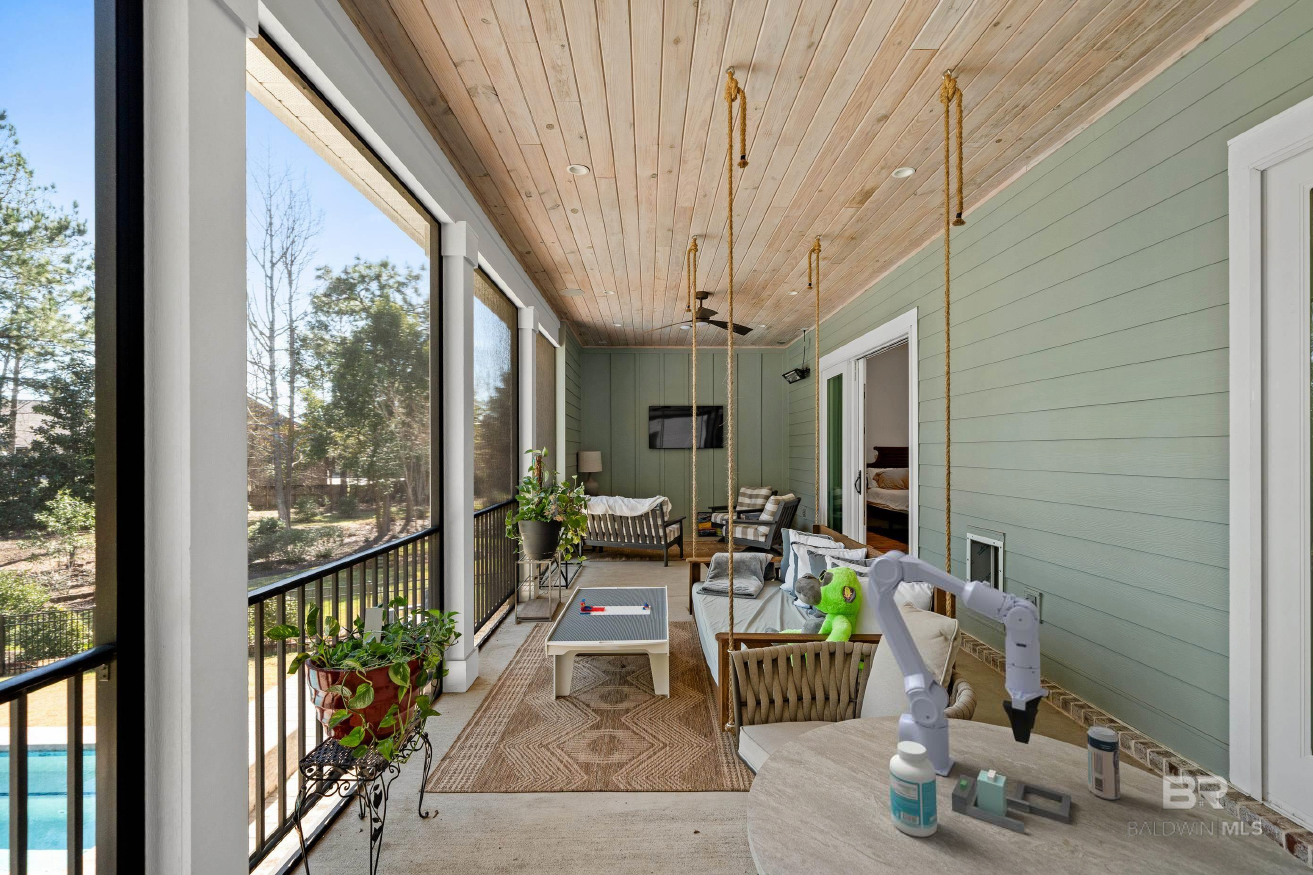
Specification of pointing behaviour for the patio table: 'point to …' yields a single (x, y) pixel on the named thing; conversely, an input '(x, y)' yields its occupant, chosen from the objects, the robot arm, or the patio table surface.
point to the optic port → (966, 804)
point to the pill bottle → (913, 790)
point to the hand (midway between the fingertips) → (1024, 734)
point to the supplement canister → (1103, 762)
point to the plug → (992, 792)
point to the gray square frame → (1048, 793)
